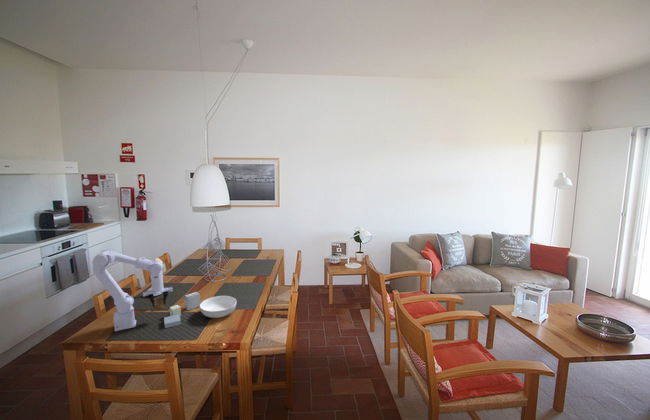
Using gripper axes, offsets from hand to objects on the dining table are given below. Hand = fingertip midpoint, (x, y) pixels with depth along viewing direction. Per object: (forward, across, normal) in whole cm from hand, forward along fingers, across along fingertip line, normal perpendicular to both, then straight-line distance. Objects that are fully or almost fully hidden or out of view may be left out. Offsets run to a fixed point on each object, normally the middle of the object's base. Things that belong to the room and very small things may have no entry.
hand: (159, 305), depth 169 cm
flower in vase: (+10, -2, +42) cm, 44 cm away
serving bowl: (+10, +31, -8) cm, 33 cm away
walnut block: (+2, 0, 0) cm, 2 cm away
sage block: (+9, +8, +2) cm, 12 cm away
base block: (+10, +6, -6) cm, 13 cm away
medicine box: (+9, +18, +8) cm, 22 cm away
